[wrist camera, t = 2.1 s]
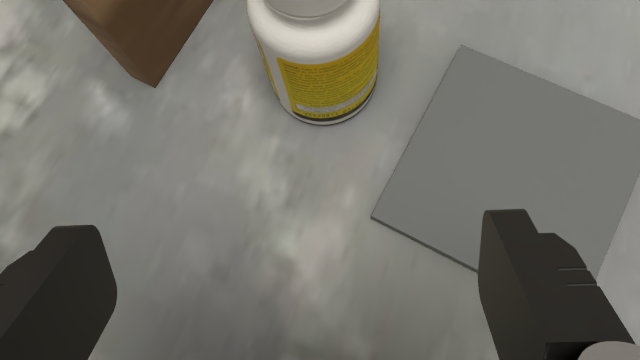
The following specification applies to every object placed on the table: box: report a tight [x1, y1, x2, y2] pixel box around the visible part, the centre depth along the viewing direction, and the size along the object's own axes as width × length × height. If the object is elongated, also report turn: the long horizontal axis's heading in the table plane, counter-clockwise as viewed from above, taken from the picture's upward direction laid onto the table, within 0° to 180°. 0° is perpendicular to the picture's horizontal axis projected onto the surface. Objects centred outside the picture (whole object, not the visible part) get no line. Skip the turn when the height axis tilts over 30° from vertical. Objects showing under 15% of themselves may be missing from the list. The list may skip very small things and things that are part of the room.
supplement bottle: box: [247, 0, 380, 125], centre depth 23 cm, size 5×5×10 cm
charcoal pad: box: [371, 45, 640, 279], centre depth 26 cm, size 10×10×1 cm
